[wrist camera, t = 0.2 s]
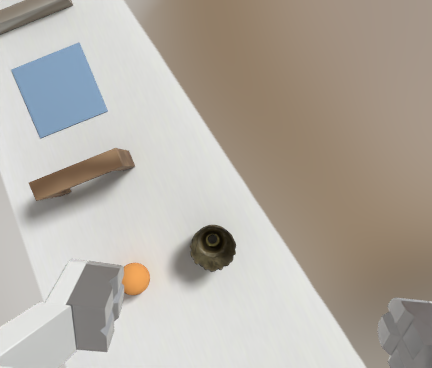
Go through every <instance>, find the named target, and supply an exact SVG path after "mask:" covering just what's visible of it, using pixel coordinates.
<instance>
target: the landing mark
mask: <svg viewBox="0 0 432 368" xmlns="http://www.w3.org/2000/svg"><path fill="white" fill-rule="evenodd" d="M12 72H13V75H14V77H15V79H16V82H17V84H18V87H19V89H20V91H21V94H22V96H23V98H24V101H25V103H26V105H27V108H28V110H29V112H30V115H31V117H32V119H33V122H34V124H35V126H36V129H37V131H38V133H39V136H40V138H42V137H45V136H47V135H50V134H52V133H55V132H57V131H60V130H62V129H65V128H67V127H70V126H72V125H75V124H77V123H80V122H82V121H85V120H87V119H90V118H92V117H95V116H97V115H100V114H102V113H105V112H107V111H108V110H107V108H106V105H105V103H104V101H103V98H102V96H101V93H100V91H99V89H98V86H97V84H96V81H95V79H94V76H93V74H92V72H91V69H90V67H89V64H88V62H87V60H86V57H85V55H84V52H83V50H82V48H81V45H80V43H77V44H74V45H72V46H69V47H67V48H64V49H62V50H59V51H57V52H54V53H52V54H49V55H47V56H44V57H42V58H39V59H37V60H34V61H32V62H29V63H27V64H24V65H22V66H19V67H17V68H15V69H12Z"/></svg>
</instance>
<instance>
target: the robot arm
mask: <svg viewBox="0 0 432 368" xmlns="http://www.w3.org/2000/svg"><path fill="white" fill-rule="evenodd" d="M123 276H124V267H123V266H121V265H114V264H108V263H101V262H94V261H84V260H77V259H71V260H70V261H69V262H68V263H67V265H66V266H65V268H64V270H63V272H62V273H61V275H60V277H59V279H58V280H57V282H56V284H55V286H54V287H53V289H52V291H51V293H50V294H49V296H48V298H47V300H46V301H45V302H39V303H37V304H35V305H34V306H32V307H31V308H29V309H28V310H26V311H24V312H23V313H21V314H20V315H18V316H16V317H15V318H13V319H12V320H10V321H9V322H7V323H5V324H4V325H2V326H1V327H0V368H60V367H61V366H62V365H63V364H64V363H65V362H66V361H67V360H68V359H69V358H70V357H71V356H72V355H73V354H74V353H75V352H76V350H89V351H101V352H107V351H108V348H109V345H110V342H111V339H112V336H113V333H114V321H115V320H116V319H118V318H119V315H120V312H121V308H122V303H123V298H124V285H123V284H122V283H121V282H122V279H123ZM388 308H389V312H388V313H386V314H384V315H383V316H382V317H381V319H380V321H379V323H378V337H379V341H380V344H381V346H382V348H383V349H384V350H385V351H386V352H387V353H388V354H389V355H390V357H389V360H388V363H389V366H390V368H432V302H430V301H422V300H412V299H403V298H394V299H392V300H391V301H390V302H389V304H388Z"/></svg>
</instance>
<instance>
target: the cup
mask: <svg viewBox="0 0 432 368" xmlns="http://www.w3.org/2000/svg"><path fill="white" fill-rule="evenodd" d="M210 235H215V236H216V237H217V241H216V242H215V243H210V242H209V241H208V237H209V236H210ZM190 248H191V251H190V252H191V257H192V258H193V260H194V262H195V264H199V265H200V266H202V267H203V268H204V269H205V270H209V271H211V272H214V271H216V270H217V269H219V270H222V269H223V267H224V266H225V267H226V266H228V265H229V263H230V262H232V261H233V255H235V254H236V252H235V248H236V243H235V241H234V239H233V236H232V235H231V234H230V233H229V232H228V231H227V230H226V229H224V228H223V227H221V226H218V225H208V226H205V227H203V228H202V229H200V230H199V231H198V232H197V233H196V234H195V236H194V237H193V239H192V242H191V245H190Z"/></svg>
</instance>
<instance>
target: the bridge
mask: <svg viewBox="0 0 432 368" xmlns="http://www.w3.org/2000/svg"><path fill="white" fill-rule="evenodd" d="M132 167H135V165H134V162H133V160H132V157H131V155H130V153H129V151H127V150H122V149H117V148H114V149H112V150H109V151H107V152H104V153H102V154H99V155H97V156H94V157H92V158H89V159H87V160H84V161H82V162H79V163H77V164H74V165H72V166H69V167H67V168H64V169H62V170H59V171H57V172H54V173H52V174H49V175H47V176H44V177H42V178H40V179H37V180H35V181H32V182H30V183H29V185H30V187H31V190H32V192H33V194H34V197H35V199H36V201H38V200H43V199H48V198H53V197H59V196H63V195H65V194H67V193H70V192H71V190H70V188H71V187H74V186H76V185H79V184H81V183H84V182H86V181H89V180H91V179H94V178H96V177H99V176H101V175H104V174H106V173H108V172H111V171H121V170H127V169H130V168H132Z"/></svg>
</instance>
